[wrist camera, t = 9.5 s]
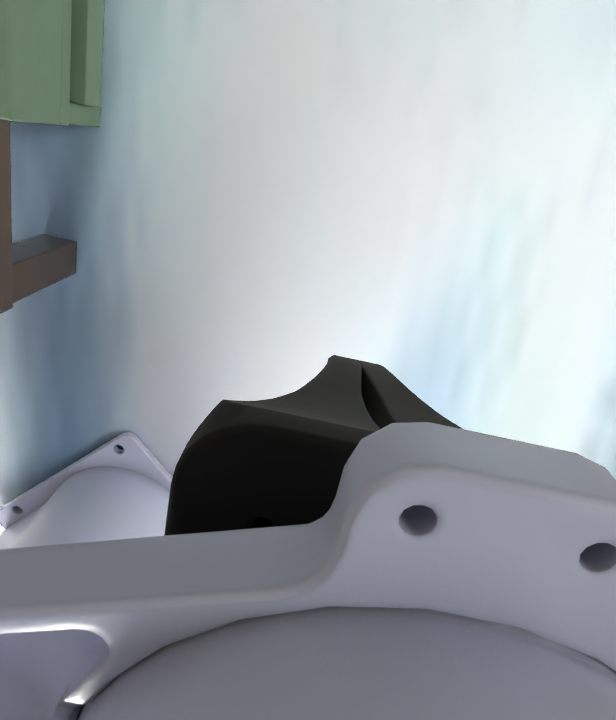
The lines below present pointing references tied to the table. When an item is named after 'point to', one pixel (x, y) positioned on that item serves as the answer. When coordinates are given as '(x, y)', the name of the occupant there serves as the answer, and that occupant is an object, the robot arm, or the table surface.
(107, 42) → the table surface
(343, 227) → the table surface
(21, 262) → the desk
